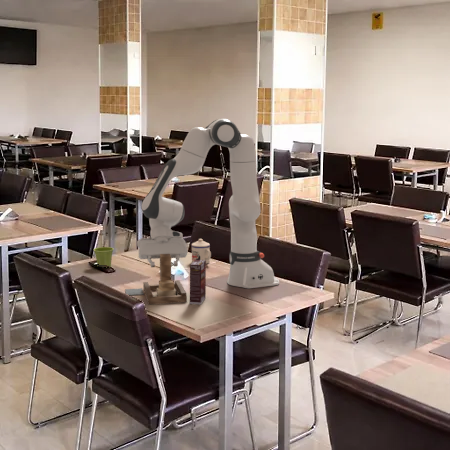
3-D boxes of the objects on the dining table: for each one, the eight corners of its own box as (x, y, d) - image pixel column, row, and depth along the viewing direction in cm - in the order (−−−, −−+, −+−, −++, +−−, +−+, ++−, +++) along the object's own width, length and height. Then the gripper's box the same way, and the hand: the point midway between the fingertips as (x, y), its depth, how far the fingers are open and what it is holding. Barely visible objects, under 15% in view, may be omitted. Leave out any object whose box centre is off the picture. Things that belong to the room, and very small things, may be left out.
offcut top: (170, 287, 267) (170, 279, 266) (174, 289, 263) (174, 282, 263) (158, 288, 265) (158, 281, 264) (162, 291, 261) (162, 283, 261)
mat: (142, 289, 277) (142, 288, 277) (143, 294, 269) (143, 293, 269) (125, 290, 275) (125, 289, 275) (126, 295, 268) (126, 294, 268)
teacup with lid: (187, 262, 323) (187, 238, 321) (202, 259, 329) (202, 236, 326) (202, 266, 314) (202, 242, 312) (217, 263, 320) (217, 240, 317)
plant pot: (90, 268, 310) (90, 250, 308) (99, 263, 319) (98, 246, 317) (109, 270, 308) (108, 251, 306) (117, 265, 317) (116, 247, 315)
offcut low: (174, 296, 268) (173, 286, 267) (175, 300, 263) (175, 290, 262) (156, 297, 266) (156, 287, 266) (158, 301, 262) (158, 291, 261)
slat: (169, 291, 274) (169, 253, 271) (171, 294, 270) (171, 256, 267) (160, 291, 273) (159, 254, 270) (161, 295, 269) (161, 256, 266)
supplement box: (201, 305, 256) (201, 265, 253) (189, 304, 257) (189, 264, 254) (206, 298, 265) (206, 259, 262) (194, 297, 266) (194, 259, 263)
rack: (179, 287, 279) (179, 279, 279) (186, 302, 260) (186, 293, 259) (143, 289, 276) (143, 281, 275) (148, 304, 257) (148, 295, 256)
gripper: (137, 234, 273) (139, 263, 266) (186, 233, 278) (189, 261, 270) (136, 242, 279) (138, 271, 271) (184, 241, 283) (187, 269, 275)
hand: (164, 266), depth 271 cm, fingers open, 8 cm apart
